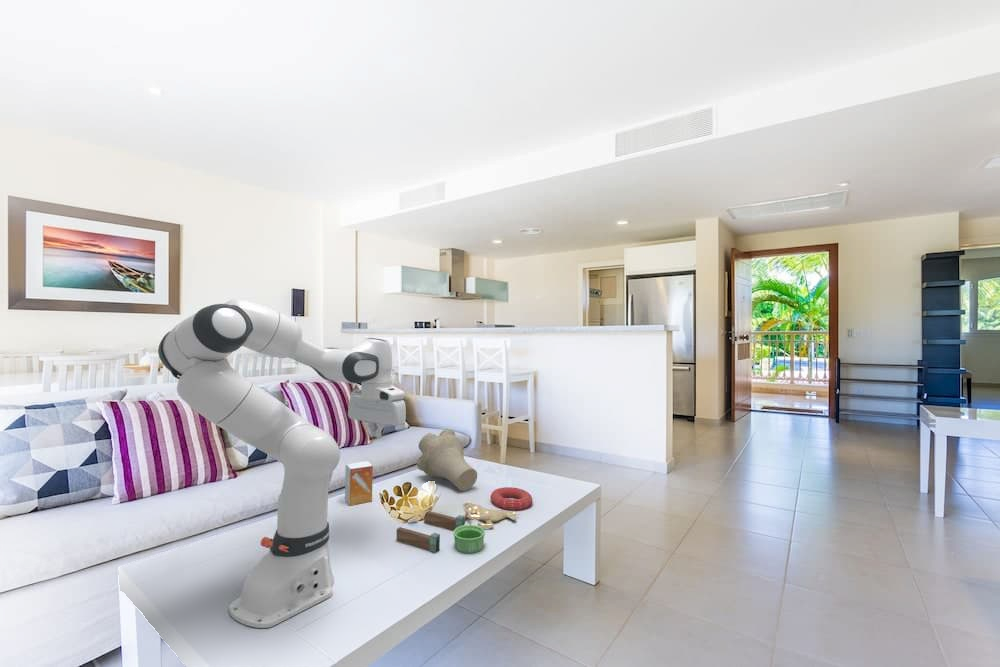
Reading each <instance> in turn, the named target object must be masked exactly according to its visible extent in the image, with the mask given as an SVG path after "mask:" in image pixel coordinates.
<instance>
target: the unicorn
mask: <svg viewBox="0 0 1000 667" xmlns="http://www.w3.org/2000/svg"><path fill="white" fill-rule="evenodd" d="M462 506H463V508H465V511H464V512H465V514H463V515H462V516H465V520H467V519H470V520H477V521H479V520H480V522H477V526H479V527H481V528H483V529H492V528H493V527H494V523H497V522H499V521H502V520H504V519H510V520H512V521H515V520H517V517H518V516H522V514H518V513H517V514H515V513H516V510H512V511H511V510H507V509H490V508H486V507H484V506H482V505H480V504H476V503H471V502H466V503H463V504H462ZM481 521H482V522H481ZM483 522H484V523H483Z"/></svg>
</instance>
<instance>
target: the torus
mask: <svg viewBox="0 0 1000 667" xmlns="http://www.w3.org/2000/svg"><path fill="white" fill-rule="evenodd" d="M490 501H491V503H492V504H493V505H495V506H496V507H498V508H500V509H502V510H507V511H522V510H525V509H528V508H529V507H531V505H532V504H533V497H532V495H531V493H529V492H528V491H526V490H524V489H522V488H517V487H511V486H506V487H505V486H504V487H498V488H496V489H494V490H493V491H492V492H491V494H490Z"/></svg>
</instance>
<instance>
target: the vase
mask: <svg viewBox="0 0 1000 667" xmlns="http://www.w3.org/2000/svg"><path fill="white" fill-rule="evenodd" d="M418 449H419V451H420V452H421V454H422V455H420V456H419V458H418V459H417V461H416V467H417V469H418V470H419V471H421V472H423V473H424V474H425V475H427V476H429V477H431V478H434V479H435V478H436V479H446V480H448V481H450V482H451V483H452V484H454V486H456V488H457V489H458V490H459V491H461V492H466V491H468V490H470V489H471V488H472V487H474V486H475V484H476V482H477V480H478V472H477V470H476V469H475V468H474V467H471V465H469V464H468V462H467V461H466V460H465V454H464V446H463V443H462V441H461V439H460V438H459V437H458V436H457V435H456V432H455V431H454V430H453V429H451V428H445V429H443V430H442V431H441V432H440V433H439V435H437V434H434V433H433V432H432V433H431V432H429V433H427V434H424V435H423V436H422V437H421V439H420V441H419V442H418Z"/></svg>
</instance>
